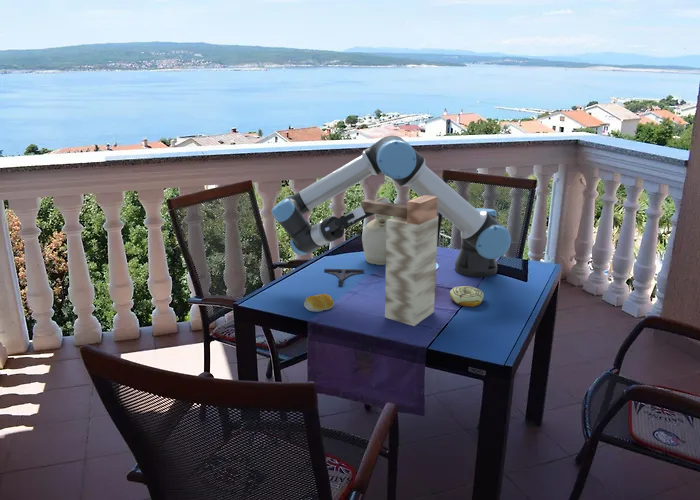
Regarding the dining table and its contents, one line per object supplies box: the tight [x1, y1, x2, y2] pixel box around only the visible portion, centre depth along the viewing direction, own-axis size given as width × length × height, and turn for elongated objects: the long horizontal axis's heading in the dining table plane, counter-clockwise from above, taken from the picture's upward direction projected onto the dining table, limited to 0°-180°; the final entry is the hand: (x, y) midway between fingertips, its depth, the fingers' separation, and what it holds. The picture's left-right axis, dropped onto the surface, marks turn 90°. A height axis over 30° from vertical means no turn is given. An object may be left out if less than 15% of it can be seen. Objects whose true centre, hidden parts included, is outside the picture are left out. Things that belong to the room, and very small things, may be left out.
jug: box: [361, 196, 392, 266], centre depth 210 cm, size 15×16×25 cm
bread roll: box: [303, 293, 334, 313], centre depth 171 cm, size 8×9×4 cm
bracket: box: [323, 268, 365, 287], centre depth 195 cm, size 14×15×3 cm
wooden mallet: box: [360, 195, 438, 225], centre depth 159 cm, size 22×10×6 cm, turn 54°
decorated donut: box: [449, 285, 485, 308], centre depth 175 cm, size 10×11×4 cm
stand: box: [384, 215, 439, 327], centre depth 161 cm, size 10×12×30 cm
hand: (376, 205), depth 162 cm, fingers open, 13 cm apart
